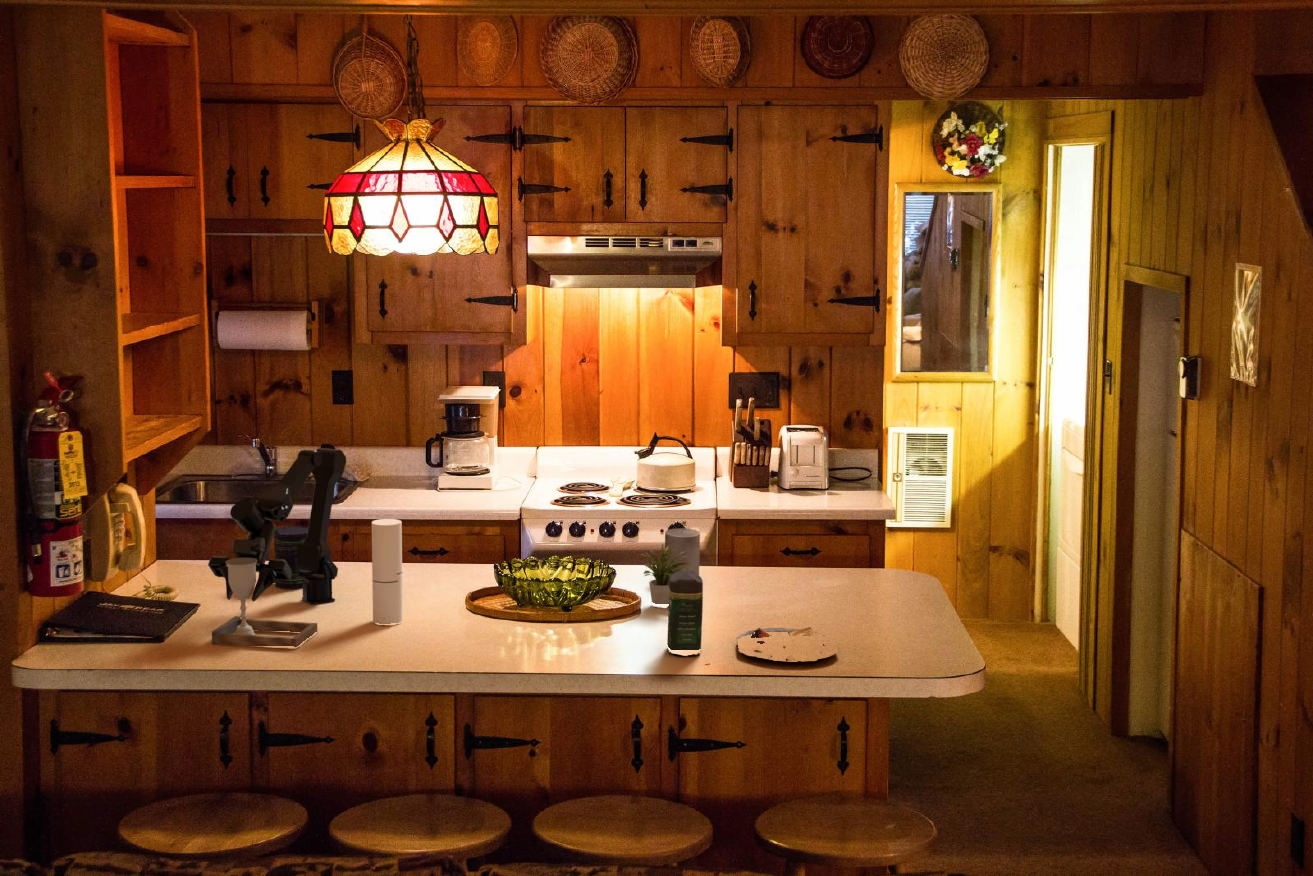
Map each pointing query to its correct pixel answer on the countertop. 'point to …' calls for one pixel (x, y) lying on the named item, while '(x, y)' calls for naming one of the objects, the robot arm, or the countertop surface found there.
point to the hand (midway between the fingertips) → (240, 599)
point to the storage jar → (289, 553)
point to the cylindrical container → (387, 571)
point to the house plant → (662, 574)
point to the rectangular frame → (226, 636)
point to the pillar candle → (684, 548)
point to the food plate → (792, 632)
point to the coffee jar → (685, 611)
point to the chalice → (242, 586)
